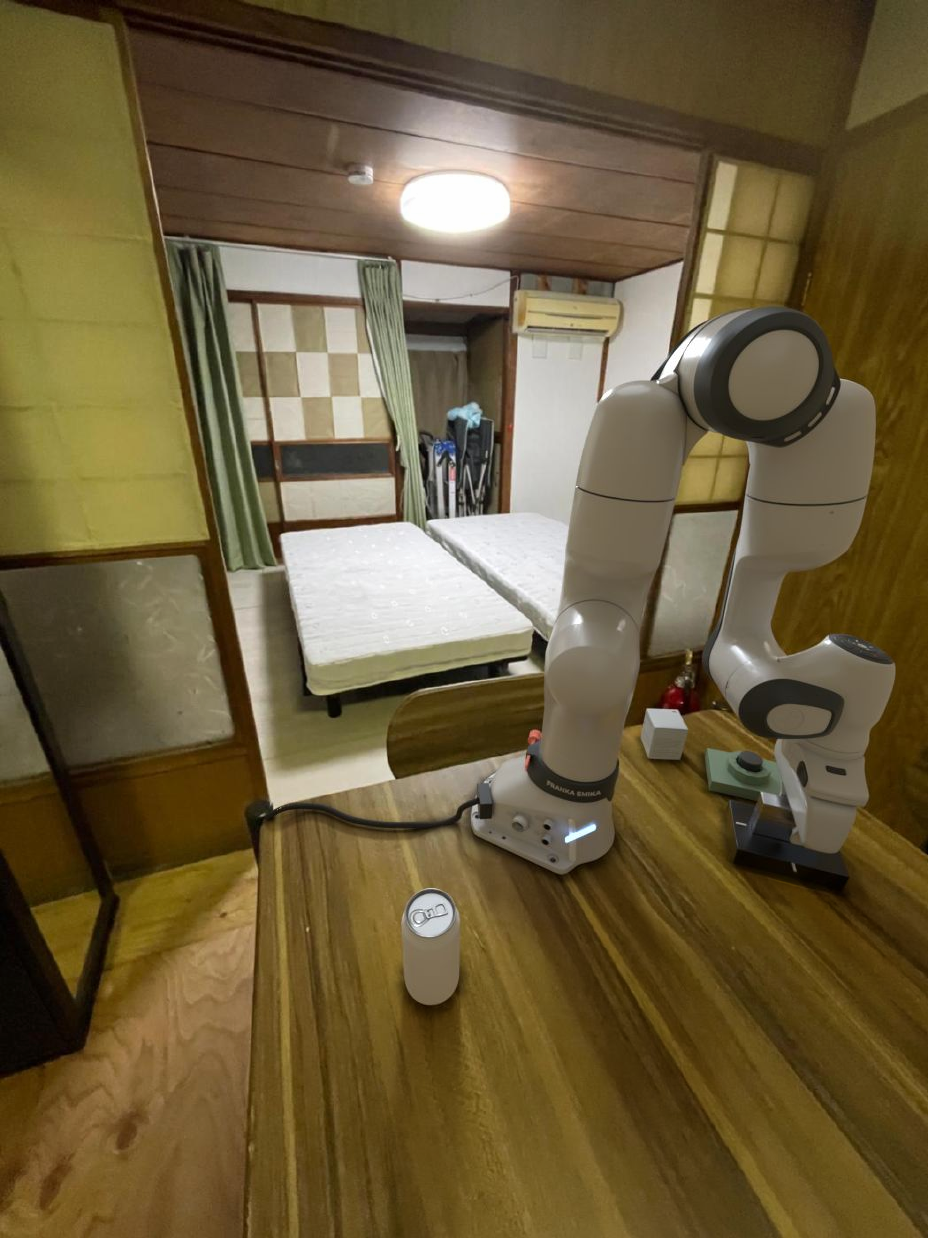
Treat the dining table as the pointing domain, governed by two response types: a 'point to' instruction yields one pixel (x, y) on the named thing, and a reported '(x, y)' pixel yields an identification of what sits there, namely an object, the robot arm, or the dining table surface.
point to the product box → (663, 734)
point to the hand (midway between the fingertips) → (790, 822)
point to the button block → (740, 776)
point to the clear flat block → (772, 816)
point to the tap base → (780, 852)
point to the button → (750, 761)
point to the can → (431, 946)
